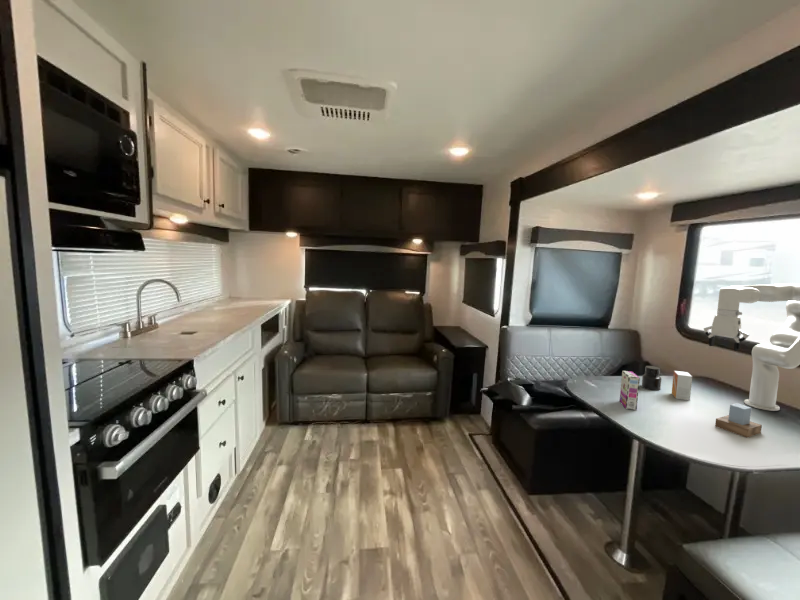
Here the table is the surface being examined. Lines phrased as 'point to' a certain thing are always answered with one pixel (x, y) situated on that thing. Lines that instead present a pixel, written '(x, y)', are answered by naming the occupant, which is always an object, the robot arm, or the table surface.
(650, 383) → the ink bottle
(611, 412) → the table surface
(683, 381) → the small box
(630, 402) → the candy bar box
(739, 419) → the slate block
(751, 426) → the walnut block
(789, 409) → the table surface
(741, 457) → the table surface
